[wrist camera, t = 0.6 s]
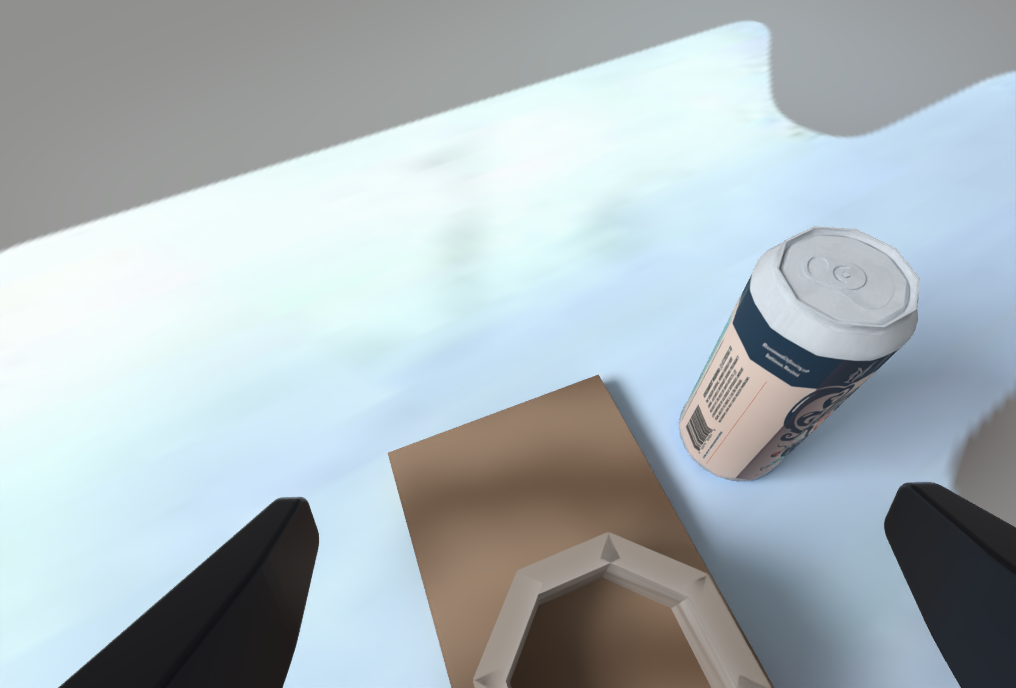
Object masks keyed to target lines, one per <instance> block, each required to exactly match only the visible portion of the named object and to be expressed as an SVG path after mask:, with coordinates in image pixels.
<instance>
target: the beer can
mask: <svg viewBox="0 0 1016 688" xmlns="http://www.w3.org/2000/svg"><path fill="white" fill-rule="evenodd" d="M919 281H920V278H919V277H918V276H917V275H916V273H915V272H914V271H913V270H912V268H911V267H910V266H909V264H908V263H907V262H906V261H905V259H904V258H903V257H902V256H901V254H900V253H899V252H898V250H897V249H896V248H894V247H892V246H890V245H888V244H886V243H884V242H882V241H880V240H878V239H876V238H873V237H871V236H869V235H867V234H865V233H863V232H861V231H859V230H857V229H847V228H831V227H815V226H814V227H812V228H810V229H808V230H806V231H804V232H802V233H800V234H797V235H795V236H793V237H791V238H789V239H787V240H785V241H784V242H783V243H781V244H779V245H777V246H775V247H773V248H771V249H769V250H768V251H767V252H766V253H764V254H763V256H762V257H760V258H759V259H758V261H757V263H756V265H755V267H754V269H753V272H752V275H751V277H750V279H749V281H748V283H747V285H746V287H745V289H744V291H743V293H742V295H741V297H740V298H739V300H738V302H737V304H736V306H735V308H734V310H733V312H732V314H731V316H730V318H729V320H728V322H727V324H726V326H725V328H724V330H723V332H722V334H721V336H720V338H719V340H718V342H717V344H716V346H715V348H714V350H713V352H712V354H711V356H710V358H709V360H708V362H707V364H706V366H705V367H704V369H703V371H702V373H701V375H700V377H699V379H698V381H697V383H696V385H695V387H694V389H693V391H692V393H691V395H690V397H689V399H688V401H687V402H686V404H685V406H684V408H683V410H682V412H681V415H680V420H679V433H680V437H681V440H682V442H683V444H684V447H685V449H686V450H687V452H688V453H689V455H690V456H691V457H692V459H693V460H694V461H695V462H696V463H697V464H698V465H700V466H701V467H702V468H703V469H705V470H707V471H708V472H710V473H712V474H714V475H716V476H718V477H721V478H724V479H728V480H733V481H750V480H754V479H758V478H760V477H762V476H764V475H766V474H768V473H770V472H771V471H772V470H773V469H774V468H775V467H776V466H777V465H778V464H779V463H780V462H781V461H782V460H783V459H784V458H785V457H786V456H787V455H788V454H789V453H790V452H792V451H793V450H794V449H795V448H796V447H797V446H798V445H799V444H800V443H801V442H802V441H803V440H804V439H805V438H806V437H807V436H808V435H809V434H810V433H812V432H813V431H814V430H815V429H816V428H817V427H818V426H819V425H820V424H821V423H822V422H823V421H824V420H825V419H826V418H827V417H828V416H829V415H830V414H831V413H833V412H834V411H835V410H836V409H837V408H838V407H839V406H840V405H841V404H842V403H843V402H844V401H845V400H846V399H847V398H848V397H849V396H850V395H851V394H852V393H854V392H855V391H856V390H857V389H858V388H859V387H860V386H861V385H862V384H863V383H864V382H865V381H866V380H867V379H868V378H869V377H870V376H871V375H872V374H873V373H875V372H876V371H877V370H878V369H879V368H880V367H881V366H882V365H883V364H884V363H885V362H886V361H887V360H888V359H889V358H890V357H891V356H892V355H893V354H894V353H896V352H897V351H898V350H899V349H900V348H901V347H902V346H903V345H904V344H905V343H906V342H907V341H908V340H909V339H910V338H911V336H912V335H913V333H914V331H915V328H916V325H917V321H918V312H917V303H918V290H919Z"/></svg>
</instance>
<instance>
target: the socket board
mask: <svg viewBox="0 0 1016 688" xmlns="http://www.w3.org/2000/svg"><path fill="white" fill-rule="evenodd" d="M388 456H389V460H390V463H391V467H392V471H393V474H394V478H395V482H396V485H397V489H398V493H399V497H400V500H401V504H402V508H403V511H404V515H405V519H406V522H407V526H408V530H409V533H410V537H411V541H412V544H413V548H414V552H415V555H416V559H417V563H418V566H419V570H420V574H421V577H422V581H423V585H424V588H425V592H426V596H427V599H428V603H429V607H430V610H431V614H432V618H433V621H434V625H435V629H436V632H437V636H438V640H439V643H440V647H441V651H442V655H443V658H444V662H445V666H446V669H447V673H448V677H449V680H450V684H451V688H774V687H773V685H772V683H771V681H770V679H769V678H768V676H767V674H766V672H765V671H764V669H763V667H762V665H761V663H760V662H759V660H758V658H757V656H756V654H755V653H754V651H753V649H752V647H751V646H750V644H749V642H748V640H747V638H746V637H745V635H744V633H743V631H742V630H741V628H740V626H739V624H738V622H737V621H736V619H735V617H734V615H733V613H732V612H731V610H730V608H729V606H728V605H727V603H726V601H725V599H724V597H723V596H722V594H721V592H720V590H719V589H718V587H717V585H716V583H715V581H714V580H713V578H712V576H711V574H710V572H709V571H708V569H707V567H706V565H705V564H704V562H703V560H702V558H701V556H700V555H699V553H698V551H697V549H696V548H695V546H694V544H693V542H692V540H691V539H690V537H689V535H688V533H687V531H686V530H685V528H684V526H683V524H682V523H681V521H680V519H679V517H678V515H677V514H676V512H675V510H674V508H673V507H672V505H671V503H670V501H669V499H668V498H667V496H666V494H665V492H664V490H663V489H662V487H661V485H660V483H659V482H658V480H657V478H656V476H655V474H654V473H653V471H652V469H651V467H650V465H649V464H648V462H647V460H646V458H645V457H644V455H643V453H642V451H641V449H640V448H639V446H638V444H637V442H636V441H635V439H634V437H633V435H632V433H631V432H630V430H629V428H628V426H627V424H626V423H625V421H624V419H623V417H622V416H621V414H620V412H619V410H618V408H617V407H616V405H615V403H614V401H613V400H612V398H611V396H610V394H609V392H608V391H607V389H606V387H605V385H604V383H603V382H602V380H601V378H600V376H599V375H596V376H594V377H591V378H588V379H585V380H583V381H580V382H577V383H575V384H572V385H569V386H567V387H564V388H561V389H559V390H556V391H553V392H550V393H548V394H545V395H542V396H540V397H537V398H534V399H532V400H529V401H526V402H524V403H521V404H518V405H515V406H513V407H510V408H507V409H505V410H502V411H499V412H497V413H494V414H491V415H489V416H486V417H483V418H480V419H478V420H475V421H472V422H470V423H467V424H464V425H462V426H459V427H456V428H454V429H451V430H448V431H445V432H443V433H440V434H437V435H435V436H432V437H429V438H427V439H424V440H421V441H419V442H416V443H413V444H410V445H408V446H405V447H402V448H400V449H397V450H394V451H392V452H389V453H388Z"/></svg>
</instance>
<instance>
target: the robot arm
mask: <svg viewBox="0 0 1016 688" xmlns="http://www.w3.org/2000/svg"><path fill="white" fill-rule="evenodd" d="M884 529H885V534H886V537H887V539H888V542H889V544H890V546H891V548H892V550H893V553H894V555H895V557H896V559H897V561H898V564H899V566H900V568H901V570H902V572H903V575H904V577H905V579H906V581H907V583H908V585H909V588H910V590H911V592H912V594H913V596H914V599H915V601H916V603H917V605H918V607H919V610H920V612H921V614H922V616H923V618H924V621H925V623H926V625H927V627H928V629H929V631H930V633H931V635H932V637H933V639H934V641H935V643H936V644H937V646H938V648H939V650H940V652H941V654H942V655H943V657H944V659H945V661H946V662H947V664H948V666H949V668H950V669H951V671H952V673H953V675H954V676H955V678H956V680H957V682H958V683H959V685H960V687H961V688H1016V528H1015V527H1014V526H1012V525H1010V524H1009V523H1007V522H1005V521H1003V520H1001V519H1000V518H998V517H996V516H994V515H993V514H991V513H989V512H987V511H985V510H983V509H982V508H980V507H978V506H976V505H975V504H973V503H971V502H969V501H968V500H966V499H964V498H962V497H961V496H959V495H957V494H955V493H953V492H952V491H950V490H948V489H946V488H945V487H943V486H941V485H939V484H936V483H932V482H914V483H905V484H903V485H902V486H900V488H899V489H898V491H897V493H896V496H895V498H894V500H893V502H892V504H891V507H890V509H889V511H888V513H887V516H886V518H885V522H884ZM318 547H319V533H318V529H317V526H316V524H315V521H314V518H313V515H312V512H311V509H310V506H309V503H308V501H307V500H306V499H305V498H303V497H282V498H278V499H276V500H275V501H273V502H272V503H271V504H270V505H269V506H268V507H266V508H265V509H264V510H263V511H262V512H261V513H259V514H258V515H257V516H256V517H255V518H254V519H253V520H251V521H250V522H249V523H248V524H247V525H246V526H244V527H243V528H242V529H241V530H240V531H239V532H237V533H236V534H235V535H234V536H233V537H232V538H231V539H229V540H228V541H227V542H226V543H225V544H224V545H222V546H221V547H220V548H219V549H218V550H217V551H216V552H214V553H213V554H212V555H211V556H210V557H209V558H207V559H206V560H205V561H204V562H203V563H202V564H201V565H199V566H198V567H197V568H196V569H195V570H194V571H192V572H191V573H190V574H189V575H188V576H187V577H185V578H184V579H183V580H182V581H181V582H180V583H179V584H177V585H176V586H175V587H174V588H173V589H172V590H170V591H169V592H168V593H167V594H166V595H165V596H164V597H162V598H161V599H160V600H159V601H158V602H157V603H155V604H154V605H153V606H152V607H151V608H150V609H149V610H147V611H146V612H145V613H144V614H143V615H142V616H140V617H139V618H138V619H137V620H136V621H135V622H133V623H132V624H131V625H130V626H129V627H128V628H127V629H125V630H124V631H123V632H122V633H121V634H120V635H118V636H117V637H116V638H115V639H114V640H113V641H112V642H110V643H109V644H108V645H107V646H106V647H105V648H103V649H102V650H101V651H100V652H99V653H98V654H97V655H95V656H94V657H93V658H92V659H91V660H90V661H88V662H87V663H86V664H85V665H84V666H83V667H81V668H80V669H79V670H78V671H77V672H76V673H75V674H73V675H72V676H71V677H70V678H69V679H68V680H66V681H65V682H64V683H63V684H62V685H61V686H60V687H58V688H283V685H284V682H285V679H286V676H287V673H288V670H289V667H290V664H291V661H292V657H293V654H294V651H295V648H296V644H297V640H298V636H299V632H300V628H301V623H302V619H303V614H304V610H305V605H306V601H307V596H308V592H309V587H310V583H311V578H312V574H313V569H314V565H315V560H316V556H317V552H318Z"/></svg>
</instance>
